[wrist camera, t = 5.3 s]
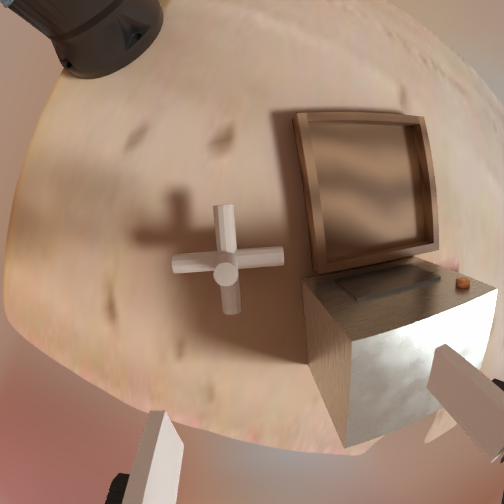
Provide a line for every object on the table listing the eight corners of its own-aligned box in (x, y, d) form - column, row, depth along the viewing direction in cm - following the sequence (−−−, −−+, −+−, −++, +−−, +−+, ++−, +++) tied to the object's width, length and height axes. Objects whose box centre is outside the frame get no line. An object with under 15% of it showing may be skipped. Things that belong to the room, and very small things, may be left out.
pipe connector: (179, 208, 29) (152, 212, 19) (272, 201, 29) (290, 201, 19) (189, 296, 30) (170, 337, 21) (276, 290, 31) (294, 329, 21)
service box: (300, 274, 31) (351, 333, 16) (414, 252, 31) (498, 282, 16) (308, 367, 33) (343, 451, 18) (410, 338, 34) (471, 392, 19)
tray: (292, 119, 28) (296, 112, 25) (413, 121, 28) (423, 116, 26) (312, 268, 31) (319, 274, 28) (427, 246, 31) (439, 249, 29)
